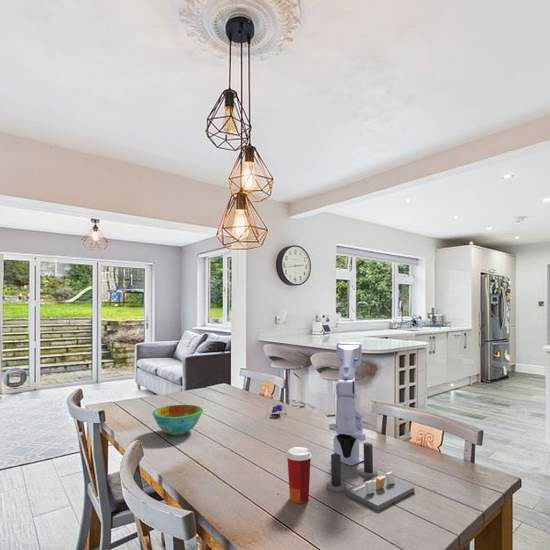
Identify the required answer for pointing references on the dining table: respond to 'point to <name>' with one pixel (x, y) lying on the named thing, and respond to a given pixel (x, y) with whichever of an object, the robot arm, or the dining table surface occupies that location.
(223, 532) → the dining table surface
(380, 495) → the breaker panel
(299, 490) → the paper cup
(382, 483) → the block
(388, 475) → the block
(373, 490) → the block
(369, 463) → the rubber post
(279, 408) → the game controller
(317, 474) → the dining table surface
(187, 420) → the bowl
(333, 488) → the rubber post
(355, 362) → the robot arm
